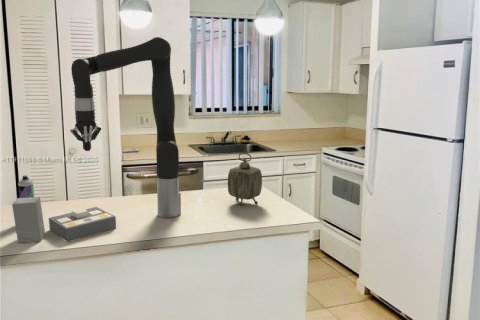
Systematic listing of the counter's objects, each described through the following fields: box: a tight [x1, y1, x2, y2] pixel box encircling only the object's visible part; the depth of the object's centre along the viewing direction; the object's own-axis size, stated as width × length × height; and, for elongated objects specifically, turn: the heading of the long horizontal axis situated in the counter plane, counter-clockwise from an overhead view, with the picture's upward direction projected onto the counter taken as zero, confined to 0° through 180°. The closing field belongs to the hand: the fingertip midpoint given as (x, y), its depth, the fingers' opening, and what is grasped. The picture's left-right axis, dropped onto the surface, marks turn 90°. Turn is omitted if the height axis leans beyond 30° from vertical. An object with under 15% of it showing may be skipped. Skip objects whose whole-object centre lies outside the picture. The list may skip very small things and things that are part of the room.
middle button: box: [71, 208, 88, 219], centre depth 175 cm, size 4×4×3 cm
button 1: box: [56, 217, 71, 223], centre depth 171 cm, size 4×4×3 cm
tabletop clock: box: [227, 152, 263, 206], centre depth 206 cm, size 14×9×25 cm, turn 58°
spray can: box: [17, 175, 35, 198], centre depth 178 cm, size 6×6×20 cm
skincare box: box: [11, 196, 46, 244], centre depth 162 cm, size 8×7×16 cm
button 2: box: [88, 210, 103, 215], centre depth 180 cm, size 4×4×3 cm
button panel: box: [48, 206, 117, 242], centre depth 174 cm, size 20×16×5 cm
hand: (87, 150), depth 182 cm, fingers closed
